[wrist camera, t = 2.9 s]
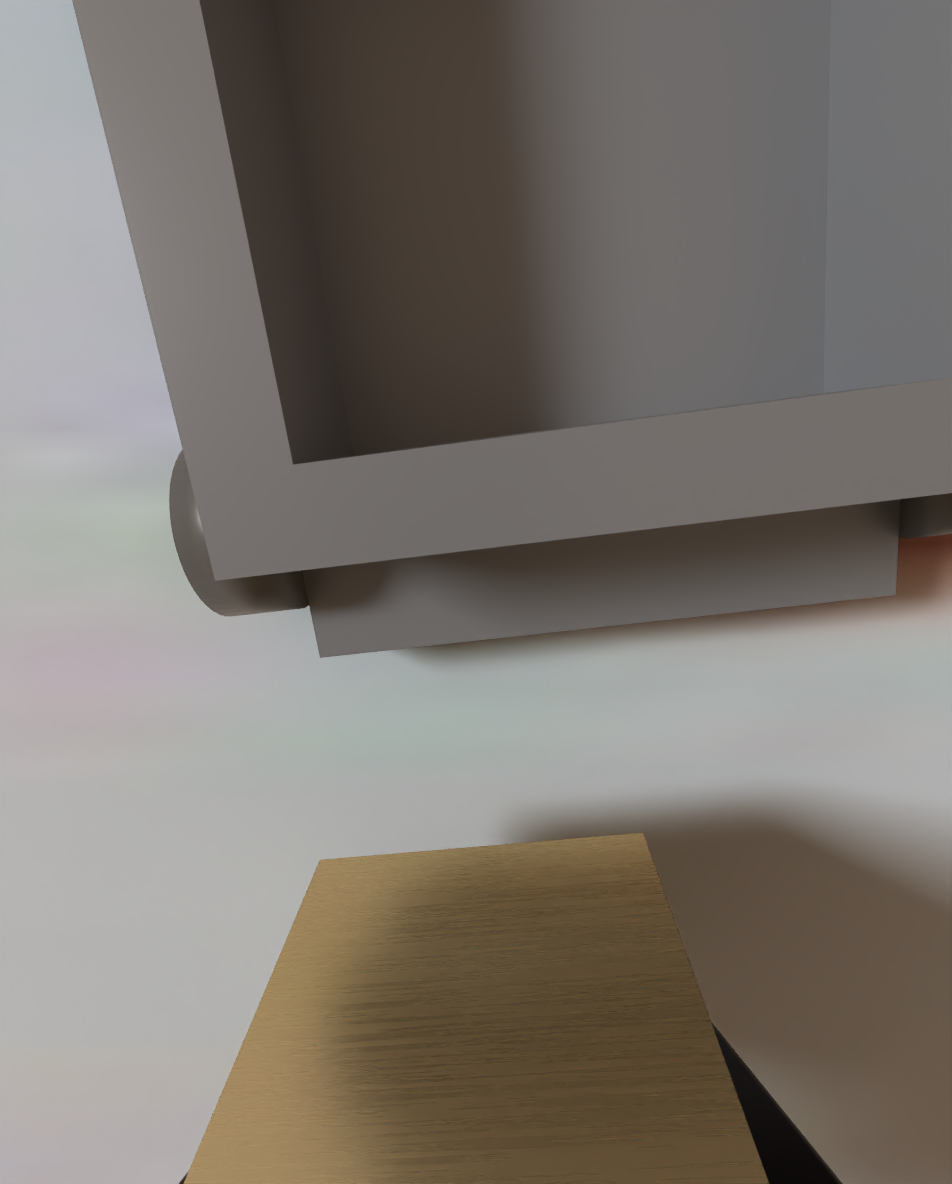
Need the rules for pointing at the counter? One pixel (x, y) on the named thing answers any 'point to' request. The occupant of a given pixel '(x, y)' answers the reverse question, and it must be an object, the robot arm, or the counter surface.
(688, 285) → the chassis
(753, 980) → the counter surface
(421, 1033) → the brass knobbed block
